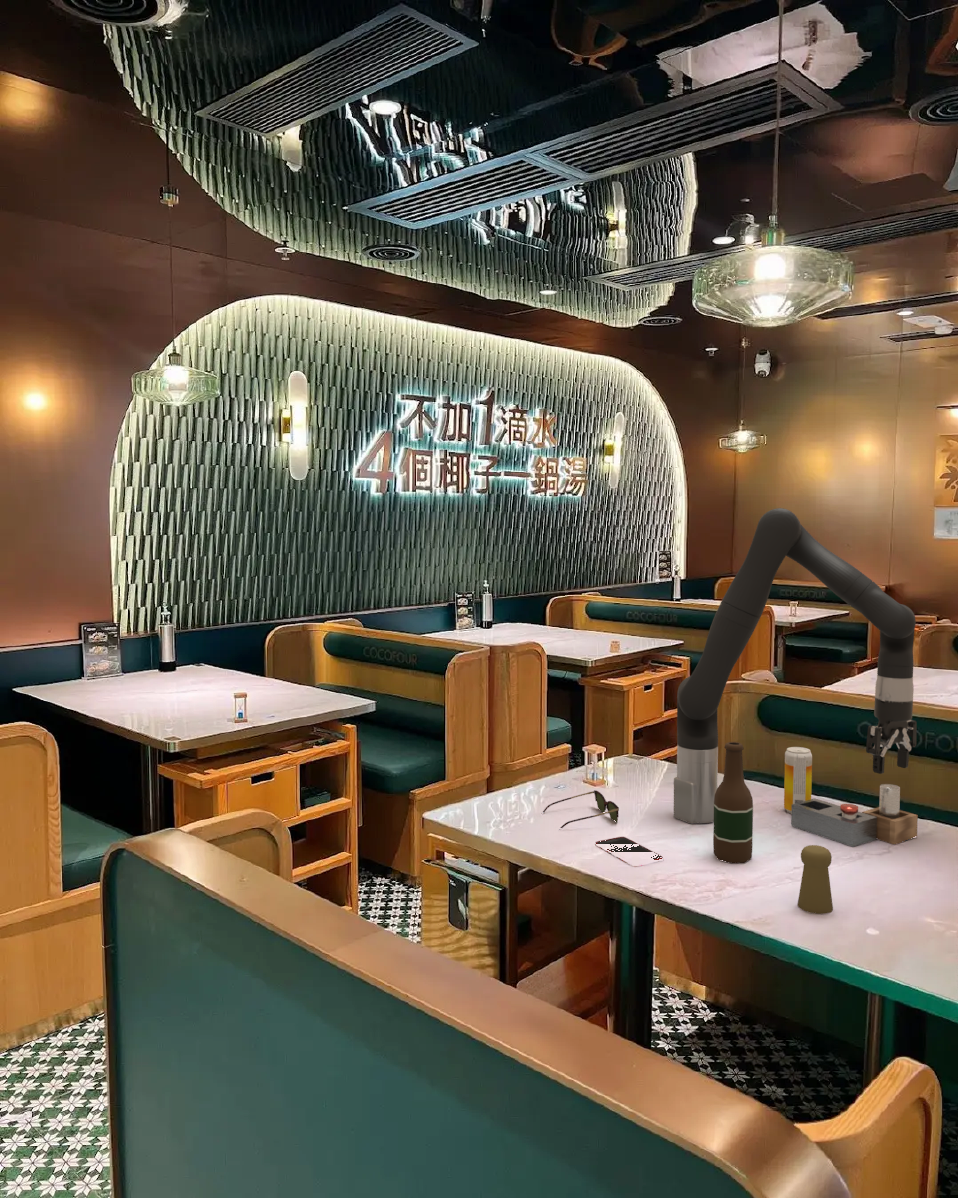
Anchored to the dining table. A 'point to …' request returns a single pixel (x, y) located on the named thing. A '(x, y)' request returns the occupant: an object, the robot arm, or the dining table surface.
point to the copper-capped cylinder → (849, 811)
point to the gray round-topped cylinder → (889, 801)
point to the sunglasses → (601, 805)
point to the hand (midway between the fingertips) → (890, 770)
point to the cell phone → (625, 841)
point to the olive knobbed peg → (815, 880)
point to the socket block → (833, 822)
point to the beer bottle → (733, 811)
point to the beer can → (797, 776)
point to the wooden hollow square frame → (895, 826)
